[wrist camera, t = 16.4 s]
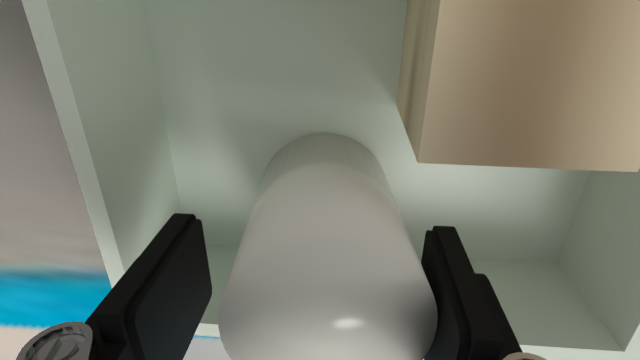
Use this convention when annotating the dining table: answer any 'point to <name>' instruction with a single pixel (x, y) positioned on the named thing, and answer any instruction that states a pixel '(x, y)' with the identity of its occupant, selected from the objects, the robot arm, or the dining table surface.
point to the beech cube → (522, 83)
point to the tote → (312, 118)
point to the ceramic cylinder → (326, 263)
